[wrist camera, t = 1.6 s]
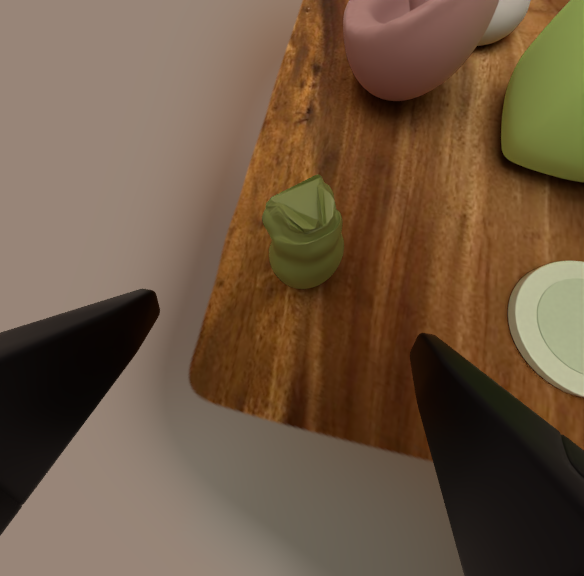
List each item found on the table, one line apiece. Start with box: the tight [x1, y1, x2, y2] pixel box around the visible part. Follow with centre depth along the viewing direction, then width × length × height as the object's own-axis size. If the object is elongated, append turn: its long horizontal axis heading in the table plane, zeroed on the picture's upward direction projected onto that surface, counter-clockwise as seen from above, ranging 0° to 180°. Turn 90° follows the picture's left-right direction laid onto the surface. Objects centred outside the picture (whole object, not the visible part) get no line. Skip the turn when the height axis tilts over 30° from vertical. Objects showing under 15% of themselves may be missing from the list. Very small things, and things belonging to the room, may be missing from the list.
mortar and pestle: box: [343, 0, 499, 101], centre depth 21 cm, size 12×12×11 cm
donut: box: [477, 0, 530, 46], centre depth 27 cm, size 10×3×10 cm
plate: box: [508, 261, 584, 398], centre depth 19 cm, size 11×11×1 cm
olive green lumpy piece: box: [262, 174, 344, 289], centre depth 17 cm, size 6×5×10 cm
